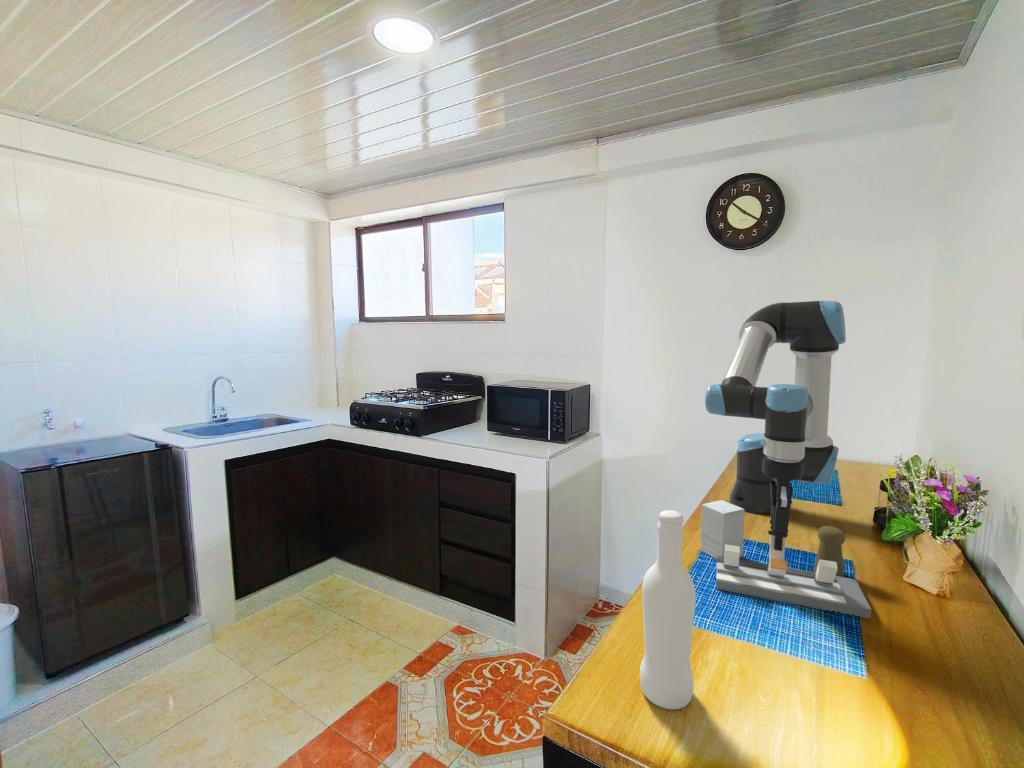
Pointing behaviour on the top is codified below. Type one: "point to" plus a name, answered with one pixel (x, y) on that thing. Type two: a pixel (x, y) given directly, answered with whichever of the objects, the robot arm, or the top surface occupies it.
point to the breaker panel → (793, 588)
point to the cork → (831, 547)
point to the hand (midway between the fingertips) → (776, 561)
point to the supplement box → (721, 527)
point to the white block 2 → (826, 572)
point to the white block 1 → (731, 556)
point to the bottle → (668, 620)
